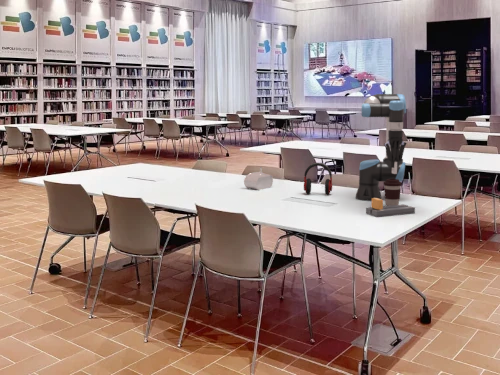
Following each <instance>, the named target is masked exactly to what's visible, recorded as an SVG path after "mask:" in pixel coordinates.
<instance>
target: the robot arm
mask: <svg viewBox="0 0 500 375" xmlns="http://www.w3.org/2000/svg"><path fill="white" fill-rule="evenodd" d="M360 114H361V117H362V118H385V119H386V122H385V123H386V126H385V127H386V128H385V129H386V130H385V132H386V133H385V134H386V135H385V143H383V145H384V146H383V147H385V156H384V157H383V159H382V161H380V160H379V159H367V160H366V159H365V160H363V161H361V162H360V163H359V167H358V168H359V169H358V170H359V176H358V178H359V179H358V188H357V191H356V193H355V199H356V200H360V201H361V200H362V201H372V198H379V199H382V193H381V189H380V186H379V184H380V182H383V183H384V182H385V181H386V180H387V179H398V180H399V181H400V182H403V180H404V176H405V169H406V162H404V158H403V156H404V152H405V148H406V145H407V142H405V141H404V139H403V136H404V116H405V114H407V102H406V97H405V95H404V94H402V93H383V94H382V93H378V94H377V93H376V94H374V95H369V96H368V97H367V98H366V99H365V100H364V102H363V103H362V104H361V113H360Z"/></svg>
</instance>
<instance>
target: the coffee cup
mask: <svg viewBox="0 0 500 375" xmlns="http://www.w3.org/2000/svg"><path fill="white" fill-rule="evenodd" d="M402 182H403V181H401V182H400V181H399V180H398V179H387V180H386V181H385V182H383V186H384V199H385V200H384V202H385V205H384V206H391V205H400V198H401V186H402V185H403V184H402Z"/></svg>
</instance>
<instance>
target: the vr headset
mask: <svg viewBox="0 0 500 375" xmlns="http://www.w3.org/2000/svg"><path fill="white" fill-rule="evenodd" d="M273 178H274V177H273V175H272V174H267V173H264V172H263V169H262V166H260V168H259V171H255V172H254V171H253V172H251V173H249V174H246V176H245V177H244V179H243V183H244V187H245V188H247V189H249V188H252V190H258V191H261V190H265V189H269V188H271V187H273V183H274V179H273Z"/></svg>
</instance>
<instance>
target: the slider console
mask: <svg viewBox="0 0 500 375" xmlns="http://www.w3.org/2000/svg"><path fill="white" fill-rule="evenodd" d="M415 212H416V207H414V206H410V205H407V204H403V203H402V204H401V203H400V204H399V205H391V206H386V205H383V209H379V210H377V209H376V210H375V209H374V208H371V207H366V208H365V214H367V215H369V216H373V217H375V218H379V217H389V216H390V217H391V216H399V215H410V214H415Z"/></svg>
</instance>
